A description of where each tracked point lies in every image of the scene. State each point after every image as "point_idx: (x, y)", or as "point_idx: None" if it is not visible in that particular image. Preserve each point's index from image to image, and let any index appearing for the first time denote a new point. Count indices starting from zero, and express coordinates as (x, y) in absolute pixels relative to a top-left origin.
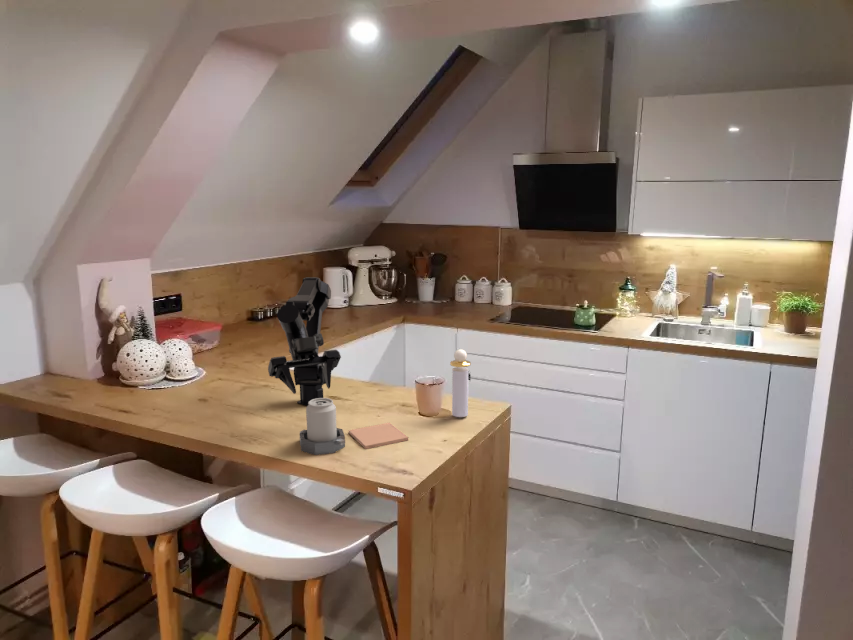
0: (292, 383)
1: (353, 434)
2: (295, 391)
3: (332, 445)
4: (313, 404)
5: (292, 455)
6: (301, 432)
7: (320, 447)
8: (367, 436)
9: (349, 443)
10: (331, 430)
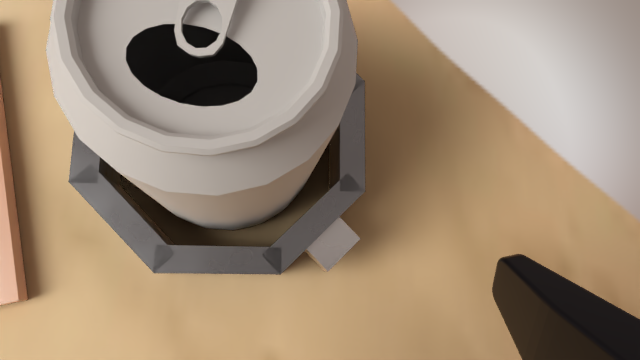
0: (621, 337)
1: (6, 213)
2: (511, 255)
3: None
4: (286, 22)
5: (397, 69)
6: (352, 201)
7: None
8: None
9: (66, 131)
10: (163, 26)
